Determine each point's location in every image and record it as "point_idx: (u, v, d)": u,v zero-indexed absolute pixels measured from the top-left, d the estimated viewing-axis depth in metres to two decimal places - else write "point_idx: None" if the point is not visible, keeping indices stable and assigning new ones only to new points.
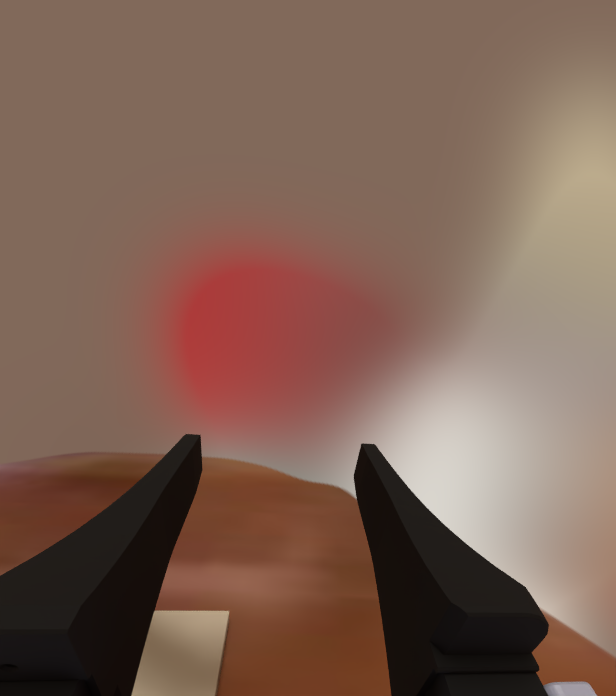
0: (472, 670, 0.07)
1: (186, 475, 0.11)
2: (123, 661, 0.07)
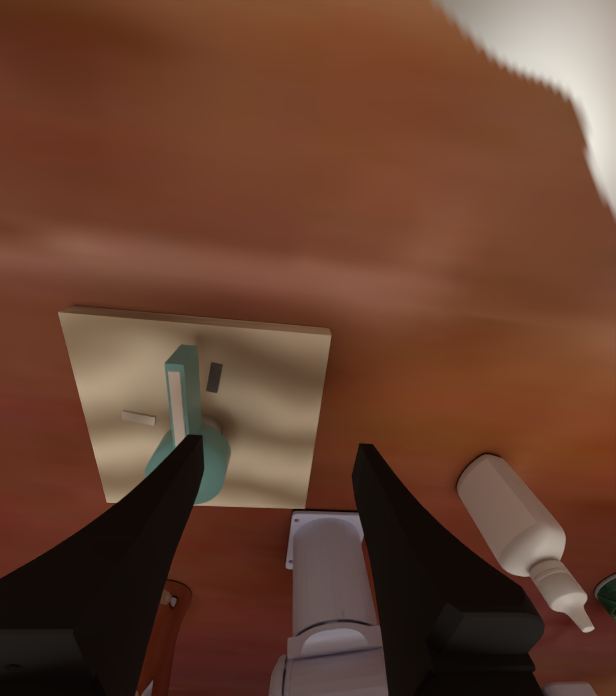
0: (468, 670, 0.07)
1: (189, 475, 0.11)
2: (127, 661, 0.07)
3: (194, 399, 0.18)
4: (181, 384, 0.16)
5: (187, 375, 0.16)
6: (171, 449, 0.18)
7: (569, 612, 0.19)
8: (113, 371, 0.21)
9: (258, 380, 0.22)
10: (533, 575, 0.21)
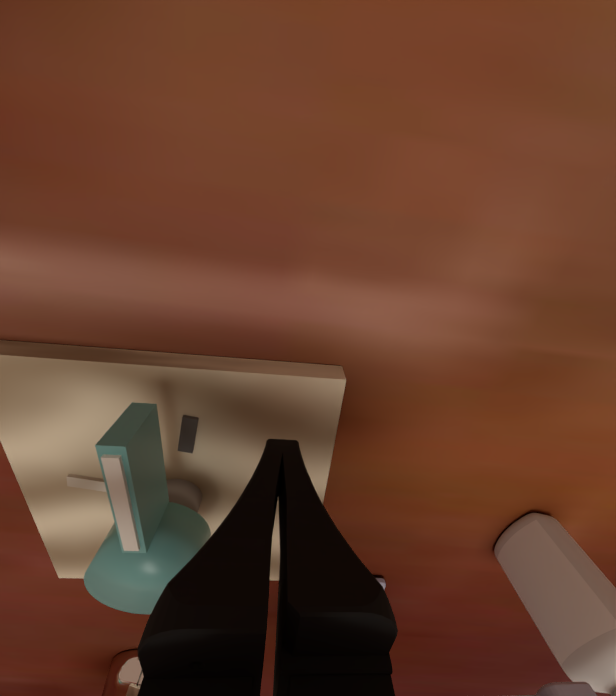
0: (319, 673, 0.06)
1: (279, 479, 0.11)
2: None
3: (152, 480, 0.13)
4: (124, 471, 0.11)
5: (136, 456, 0.11)
6: (119, 552, 0.12)
7: None
8: (50, 427, 0.15)
9: (247, 436, 0.16)
10: None
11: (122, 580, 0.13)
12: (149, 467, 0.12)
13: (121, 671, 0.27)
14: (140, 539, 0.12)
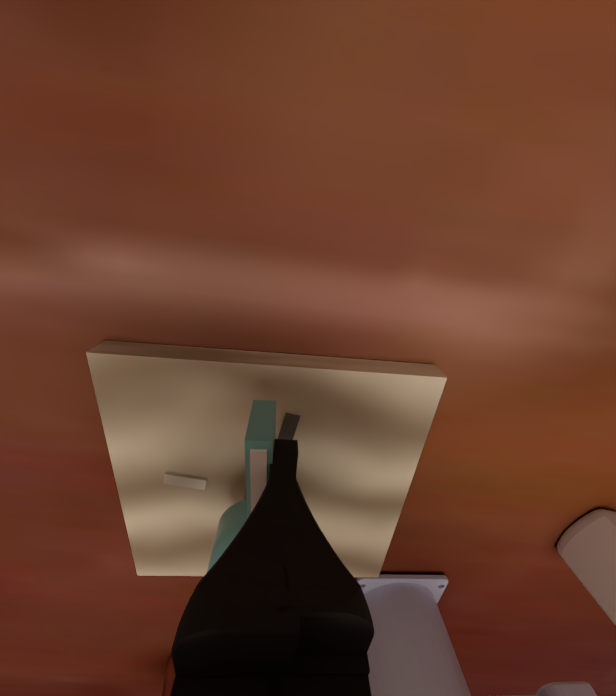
0: (295, 673, 0.06)
1: None
2: None
3: None
4: (265, 466, 0.11)
5: None
6: None
7: None
8: (156, 425, 0.16)
9: (343, 433, 0.17)
10: None
11: None
12: None
13: None
14: None
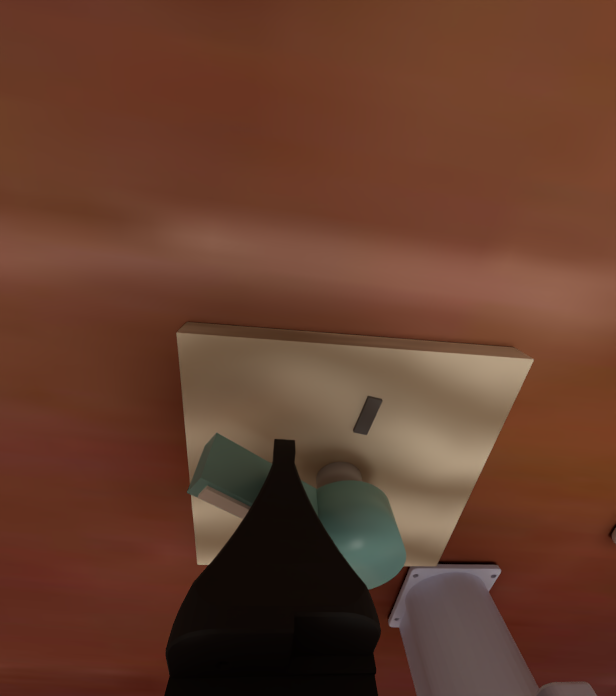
0: (301, 673, 0.06)
1: None
2: None
3: None
4: (226, 494, 0.11)
5: (224, 477, 0.12)
6: None
7: None
8: (236, 409, 0.15)
9: (422, 417, 0.16)
10: None
11: None
12: (254, 477, 0.13)
13: None
14: None
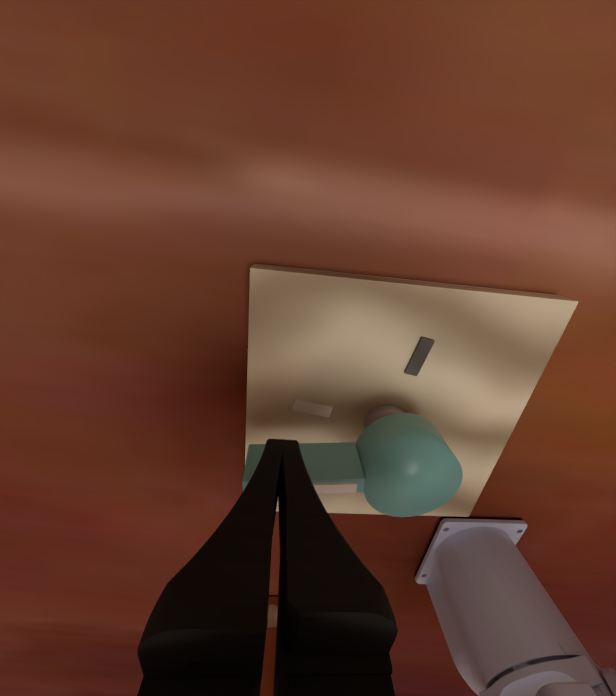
0: (319, 673, 0.06)
1: (278, 479, 0.11)
2: None
3: (306, 459, 0.15)
4: None
5: None
6: (364, 493, 0.15)
7: None
8: (297, 348, 0.16)
9: (469, 360, 0.17)
10: None
11: (401, 495, 0.15)
12: None
13: None
14: (346, 480, 0.14)
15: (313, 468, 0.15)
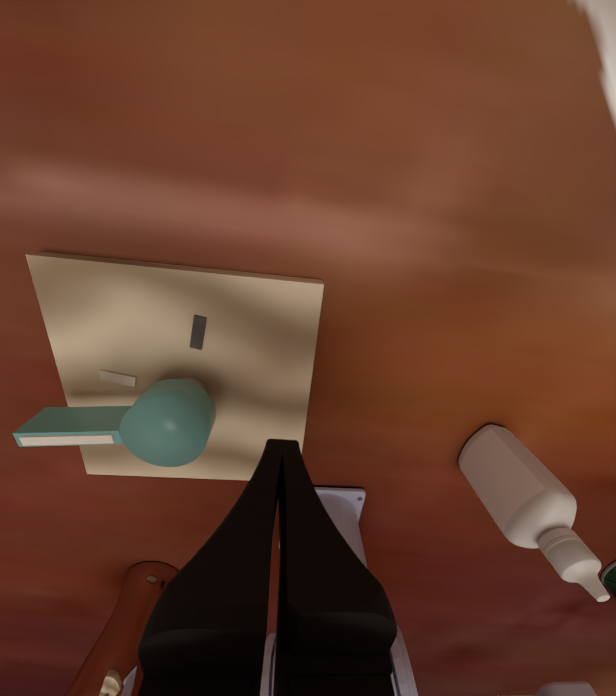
0: (319, 672, 0.06)
1: (279, 479, 0.11)
2: None
3: (83, 417, 0.18)
4: (37, 435, 0.17)
5: (35, 427, 0.17)
6: (126, 444, 0.18)
7: (582, 581, 0.17)
8: (88, 324, 0.19)
9: (245, 336, 0.20)
10: (542, 544, 0.19)
11: (158, 446, 0.18)
12: (68, 418, 0.18)
13: (136, 577, 0.31)
14: (103, 432, 0.17)
15: (82, 424, 0.18)
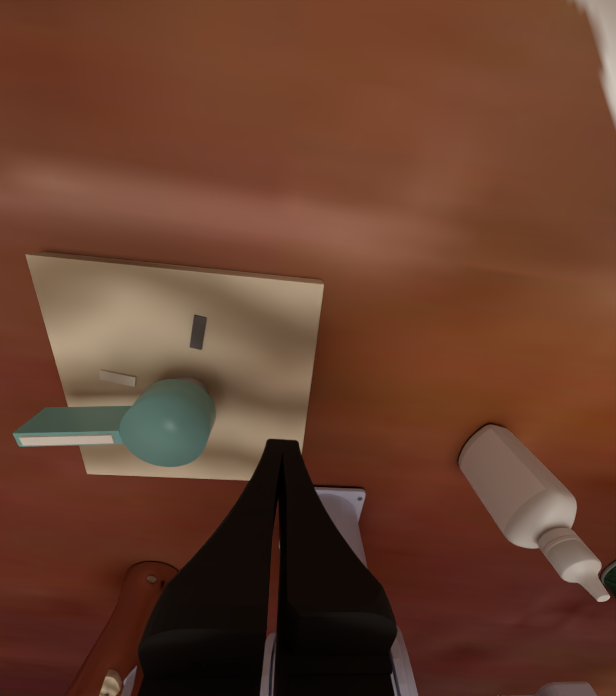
0: (319, 672, 0.06)
1: (279, 479, 0.11)
2: None
3: (83, 417, 0.18)
4: (37, 435, 0.17)
5: (35, 427, 0.17)
6: (126, 444, 0.18)
7: (582, 581, 0.17)
8: (88, 324, 0.19)
9: (245, 336, 0.20)
10: (542, 544, 0.19)
11: (158, 446, 0.18)
12: (68, 418, 0.18)
13: (136, 577, 0.31)
14: (103, 432, 0.17)
15: (82, 424, 0.18)
